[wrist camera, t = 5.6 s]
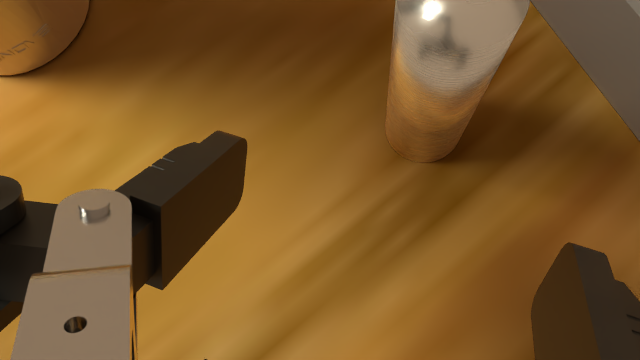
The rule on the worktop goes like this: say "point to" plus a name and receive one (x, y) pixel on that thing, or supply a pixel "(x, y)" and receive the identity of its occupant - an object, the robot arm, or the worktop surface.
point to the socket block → (603, 47)
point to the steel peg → (443, 69)
